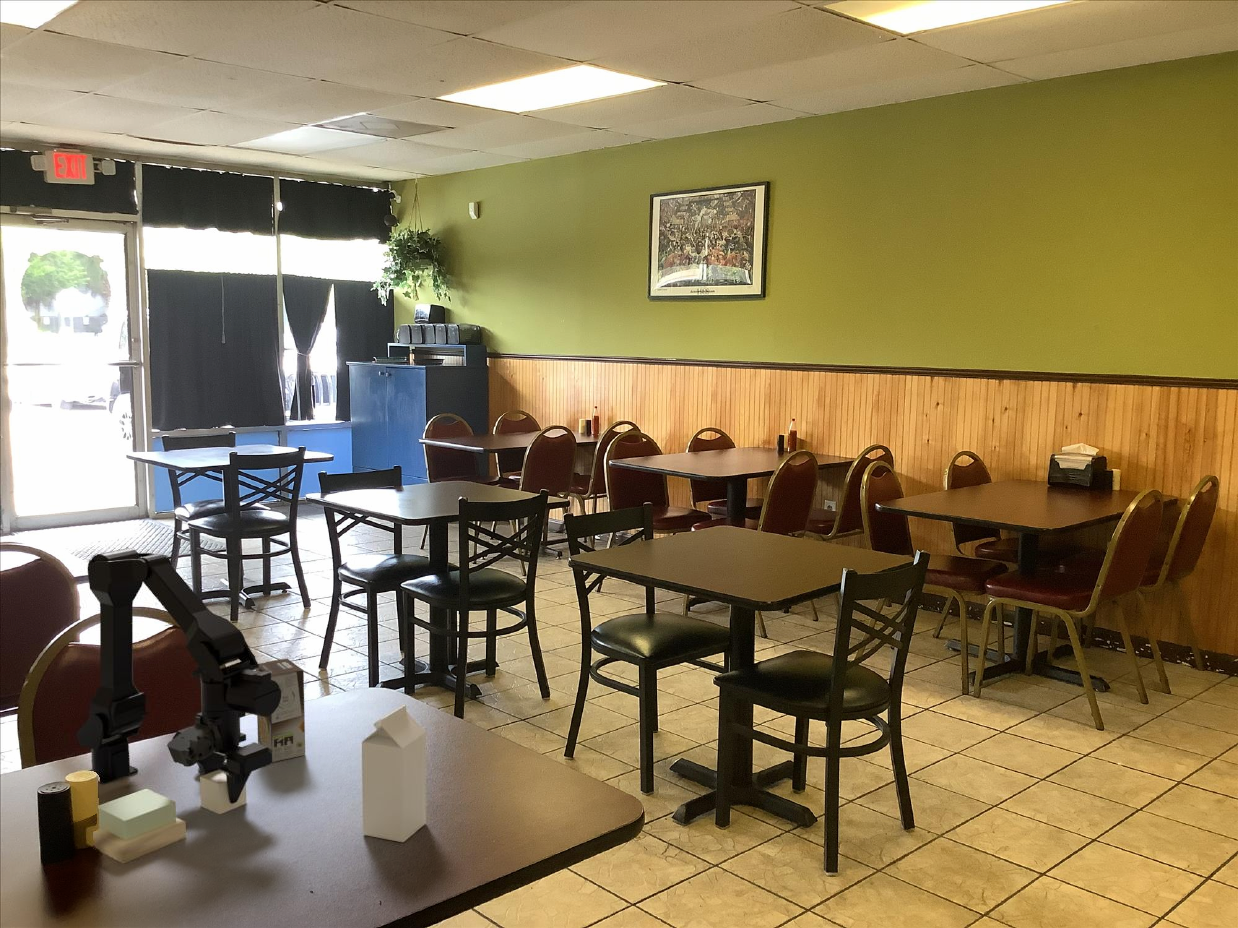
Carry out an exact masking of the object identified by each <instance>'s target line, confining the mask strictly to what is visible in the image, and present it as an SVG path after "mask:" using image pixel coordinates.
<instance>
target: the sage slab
mask: <svg viewBox="0 0 1238 928" xmlns="http://www.w3.org/2000/svg"><path fill="white" fill-rule="evenodd" d="M97 806H98V809H99V827H101V828H102V829H104V830H106V831H108V832H110V833H112V834H114V835H116V836H118V837H120V838H122V839H124V840H128V839H131V838H133V837H136V836H139V835H141V834H144V833H146V832H149V831H151V830H154V829H156V828H159V827H162V826H164V825H167V824H169V823H172V822H174V821H176V818H177V804H176V801H175V800H172V799H171V798H168V797H167V796H166V797H165V796H164V795H162V794H159V793H157V792H155V791H153V790H151V789H149V788H145V789H142V790H138V791H136V792H134V793H133V792H132V793H131V794H127V795H124V796H122V797H119V798H116V799H113V800H111V801H107V802H105V803H102V804H100V805H97Z"/></svg>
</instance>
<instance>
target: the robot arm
mask: <svg viewBox="0 0 1238 928" xmlns="http://www.w3.org/2000/svg"><path fill="white" fill-rule="evenodd" d="M87 576H88V578H87V579H88V584H89V585H88V586H89V589H90V591H91V592H92V594H93V595H94V597H95V598H96V599H97V601H98V602H99V606H100V607H99V624H100V625H99V630H100V633H99V635H100V637H99V641H100V642H99V644H100V647H99V648H100V653H99V655H100V664H99V665H100V672H99V675H100V677H99V678H100V681H99V682H100V684H99V687H98V688H97V690H96V692H95V694H94V696H93V698H92V699H91V701H90V703H89V704H90V705H89V712H88V719H87V720H86V722H84V724H83V725H82V726H81V727H80V728H79V730H78V731H77V732H76V738H77V742H78V745H79V746H80V747H84V748H88V749H91V750H90V751H91V769H90V770H88V771H94V772H96V773H97V774H98V775H99V777H100V782H99V783H100V784H107V783H111V782H113V781H116V780H119V779H122V778H124V777H128V776H131V775H134V774H137V773H138V772H139V769H138V768H137V767H134V766H132V765H131V761H130V758H131V757H130V749H129V748H130V747H129V745H130V743H129V738H131V737H133V736H137V735H139V734H140V731H141V728H142V727H141V726H142V724H143V722H144V720H145V716H146V715H147V714H148V712H147V708H146V703H147V701H146V700H147V695H146V693H145V692H140V690H139V689H138V688H137V687H136V685H135V684H134V677H133V675H134V674H133V673H134V672H133V671H134V669H133V667H134V666H133V665H134V664H133V663H134V661H133V653H134V652H133V649H134V647H133V645H134V644H133V643H134V642H133V635H134V633H133V628H134V627H133V626H134V624H133V622H134V619H133V617H134V616H133V614H134V611H133V610H134V609H133V607H134V606H133V603H134V601H135V599H136V597H137V595H138V593H139V591H140V590H141V588H142V586H143V584H144V585H145V586H146V588H147V589H148V590H149V591H150V592H151V594H152V595H153V596H154V597H155V598H156V600H157V601H158V603H160V605H162V607H163V608H164V609H165V611H166V612H167V613H168V614H169V615H170V617H172V619H173V620H174V621H175V622H176V624H177V625H178V626H179V627H180V628H181V630H182V632H183V633H184V637H185V647H186V649H187V651H188V652H189V654H190V655H191V657H192V658H193V660H194V662H195V663H196V665H197V667H196V669H195V668H194V670H193V671H192V672H191V673H190V677H192V678H194V679H200V690H201V691H200V692H201V694H200V696H201V699H200V700H201V712H199V713H195V717H194V725H191V726H189V727H185V728H182V729H180V730H177V731H176V733H174V735H173V737H172V739H171V740H170V741H168V742H167V745H166V747H167V749H168V751H169V753H170V756H171V758H172V760H173V762H174V763H178V764H180V765H183V766H184V767H185V768H186V767H187V768H189V767H192V766H194V765H196V764H197V767H198V769H200V771H201V773H200V774H201V776H203V775H206V774H208V773H211V772H214V771H216V770H220V771H222V772H223V773H224V774H226V778H227V786H228V794H229V800H230V803H231V804H233V803H235V802H237V801H238V799H239V797H240V794H241V792H242V790H243V788H244V786H245V784H246V785H247V782H248V779H249V778H250V776H251V774H252V773H253V772H255V771H256V770H259V769H262V768H265V767H267V766H270V765H272V764H273V763H274V762H273V751H272V750H271V749H270V748H268V747H266V746H263V745H261V744H258V742H251V743H249V744H246V745H243V746H240V743H243V742H245V741H247V734H246V733H242V732H241V718H244V717H246V715H247V714H249V715H254V716H257V715H258V716H262V717H267V716H270V715H271V714H273V713H274V712H275V711H276V709H277V707H278V706H279V703H280V700H281V690H280V688H279V685H278V684H277V682H275V681H273V680H271V673H270V672H259V671H256V669H257V668H258V667H259V664H260V663H258V661H257V660H256V656H255V654H254V653H253V652H252V650H251V649H250V647H249V645H248V643H247V641H246V638H245V636H244V634H243V633H242V631H241V630H240V628H238V627H237V626H236V625H234V624H233V623H232V622H231V621H230V620H228V619H227V618H225V617H222V616H220V615H217V614H215V613H213V612H212V611H211V610H210V609H209V608H208V607H207V606H206V605H205V603H204V602H203V601H202V600H201V599H200V597H199V596H198V595H197V594H196V593H195V592H194V591H193V589H192V588H191V586H190V585H188V584H187V582H186V581H185V580H184V579H183V577H181V575H180V574H179V573H178V572H177V571H176V569H175V568H174V567H173V565H172V561H171V559H170V557H169V556H168V555H166V554H163V553H153V552H138V551H137V550H136V549H134V548H132V547H130V548H128V547H126V548H122V549H116V550H112V551H108V552H103V553H97V554H95V555H93V557H92V558H91V559H90V560H89V561H88V563H87ZM235 661H239V662H235ZM232 662H235V663H234V664H231V665H227V666H225V665H226V664H229V663H232ZM222 666H224V667H222ZM224 756H227V758H226V760H225V761H224ZM223 761H224V762H226V766H223Z"/></svg>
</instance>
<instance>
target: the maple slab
mask: <svg viewBox="0 0 1238 928" xmlns="http://www.w3.org/2000/svg"><path fill="white" fill-rule="evenodd" d="M186 826H187V825H186V821H185V820H182V819H180V818H179V817H176V821H174V822H172V823H169V824H167V825H164V826H162V827H159V828H156V829H154V830H151V831H149V832H146V833H144V834H141V835H139V836H136V837H133V838H131V839H128V840H124V839H122V838H120V837H118V836H116V835H114V834H112V833H110V832H108V831H106V830H104V829H102V828H101V827H99V829H98V830H96V831H94V832H93V840H94V845H95V847H96V848H97V849H99V850H100V851H102V852H103V853H102V852H101V853H102V854H104V853H106V854H105V855H106V856H108V855H109V856H108V857H110V858H112V857H113V858H112V859H114V860H115V861H117V860H118V862H120V863H122V864H125V863H128V862H130V861H132V860H135V859H137V858H140V857H142V856H144V855H147V854H149V853H151V852H152V853H153V852H155V851H156V850H159V849H162V848H163V847H167V846H168V845H170V844H171V845H172V844H174V843H175V842H178V841H180V839H181V840H183V839H185V838H186V837H187V828H186ZM100 851H99V852H100ZM129 860H130V861H129Z"/></svg>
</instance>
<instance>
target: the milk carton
mask: <svg viewBox="0 0 1238 928" xmlns="http://www.w3.org/2000/svg"><path fill="white" fill-rule="evenodd" d="M373 726H374V728H375V731H373V732H372V733H371V734H370V735H368V736H367V737H366V738H364V740H362V741H361V774H362V775H361V777H362V779H361V783H362V784H361V787H362V789H361V790H362V792H361V794H362V798H361V799H362V835H364V836H367V837H374V838H379V839H383V840H388V841H394V842H399V843H404V842H406V841H407V840H408V839H409V838H410V837H412V836H413V835H414V834H415V833H416V832H418V831H419V829H421V828H422V827H423V826H424V825H426V824H427V757H426V756H427V754H426V753H427V747H426V742H427V740H426V739H427V738H426V737H427V735H426V734H427V732H426V730H424V728H422V727H421V725H420V724H419V723H418V722H417V721H416V720H415V719H414V718H413V717H412V716H411V714H410V713H409V712H408V711H407V704H404V705H401V706H400V707H399V708H397V709H395V710H394V711H392V712H390V713H389V714H386V716H382V717H381V718H379V719H378V720H377V721H376V722H374V723H373Z"/></svg>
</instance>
